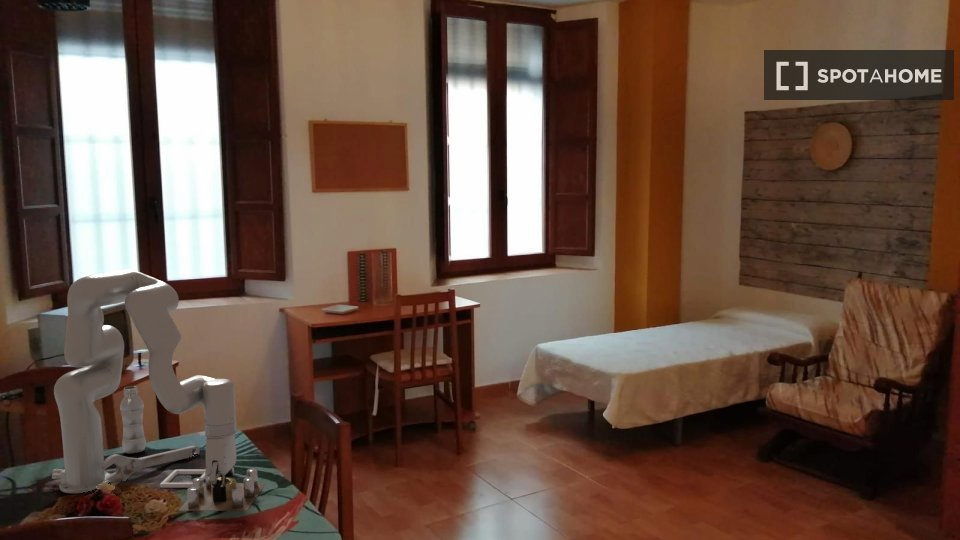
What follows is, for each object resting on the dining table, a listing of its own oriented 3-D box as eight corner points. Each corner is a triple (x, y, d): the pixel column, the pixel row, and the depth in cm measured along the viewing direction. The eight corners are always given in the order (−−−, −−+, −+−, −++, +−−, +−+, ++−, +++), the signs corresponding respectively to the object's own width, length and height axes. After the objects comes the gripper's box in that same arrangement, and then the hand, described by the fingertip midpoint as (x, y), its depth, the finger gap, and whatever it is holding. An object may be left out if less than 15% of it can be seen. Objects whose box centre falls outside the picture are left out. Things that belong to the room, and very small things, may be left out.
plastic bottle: (130, 448, 232) (126, 384, 229) (151, 448, 231) (147, 385, 228) (117, 455, 225) (113, 390, 223) (138, 456, 225) (134, 391, 222)
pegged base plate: (182, 508, 187) (181, 491, 186) (204, 484, 201) (203, 468, 201) (245, 508, 186) (244, 491, 186) (262, 484, 201) (262, 468, 200)
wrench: (199, 464, 226) (104, 488, 201) (195, 463, 227) (100, 486, 202) (200, 437, 226) (105, 458, 201) (196, 436, 227) (101, 456, 202)
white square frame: (160, 491, 200) (160, 483, 199) (175, 476, 209) (175, 469, 209) (197, 490, 200) (196, 483, 199) (210, 476, 209) (210, 469, 209)
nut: (207, 500, 191) (206, 485, 191) (215, 491, 197) (214, 476, 196) (233, 500, 191) (232, 485, 191) (240, 491, 197) (239, 476, 196)
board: (178, 514, 186) (177, 510, 186) (203, 486, 202) (203, 483, 202) (246, 514, 186) (246, 510, 186) (266, 486, 202) (266, 483, 202)
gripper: (217, 417, 200) (221, 482, 202) (192, 439, 183) (196, 511, 185) (246, 417, 200) (249, 482, 202) (223, 439, 183) (227, 510, 185)
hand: (224, 495), depth 194 cm, fingers closed on nut, 5 cm apart
